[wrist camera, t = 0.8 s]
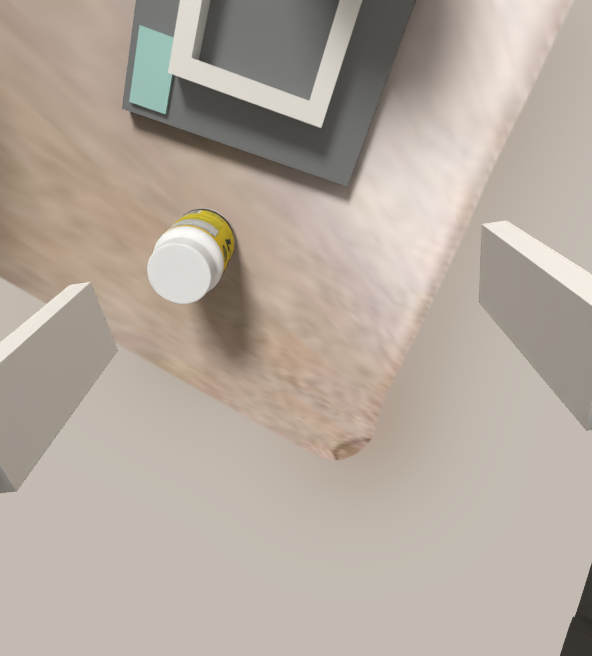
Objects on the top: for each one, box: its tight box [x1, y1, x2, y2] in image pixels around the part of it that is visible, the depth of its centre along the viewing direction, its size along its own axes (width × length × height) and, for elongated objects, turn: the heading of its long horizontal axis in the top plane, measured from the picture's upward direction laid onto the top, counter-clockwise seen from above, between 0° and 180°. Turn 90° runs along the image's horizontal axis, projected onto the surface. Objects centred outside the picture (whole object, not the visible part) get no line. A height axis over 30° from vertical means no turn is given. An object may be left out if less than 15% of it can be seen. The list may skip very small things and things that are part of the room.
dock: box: [122, 0, 416, 186], centre depth 27 cm, size 16×16×3 cm
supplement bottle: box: [147, 208, 236, 304], centre depth 31 cm, size 5×5×8 cm
